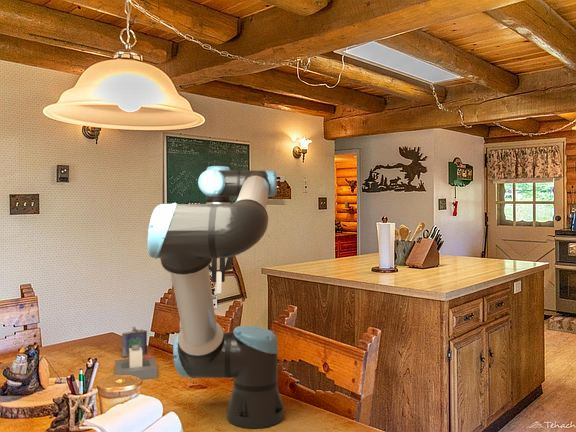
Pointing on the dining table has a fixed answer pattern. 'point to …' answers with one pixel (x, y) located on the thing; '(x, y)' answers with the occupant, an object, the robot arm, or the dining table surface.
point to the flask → (134, 341)
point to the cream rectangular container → (135, 356)
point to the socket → (137, 368)
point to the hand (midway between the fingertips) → (218, 292)
